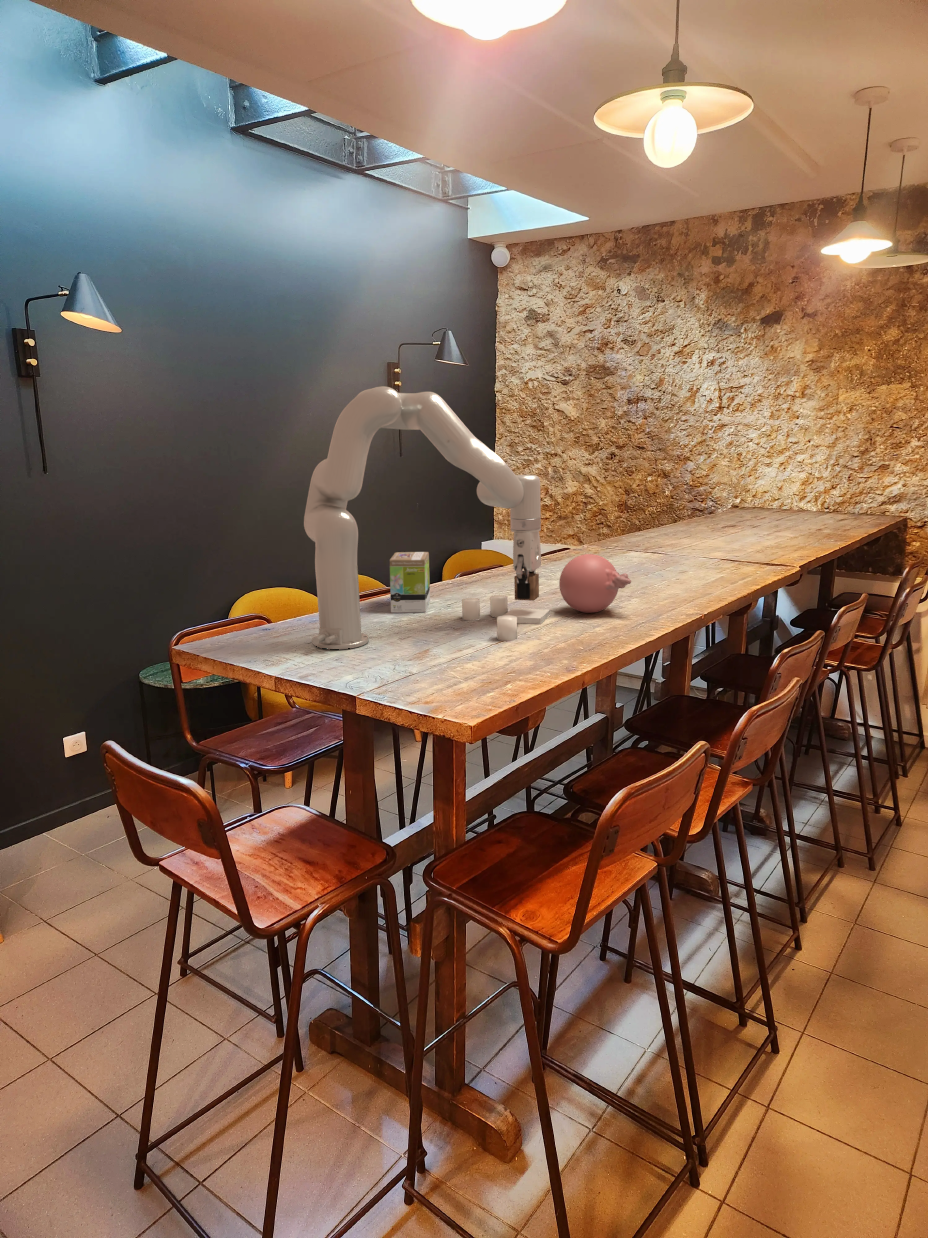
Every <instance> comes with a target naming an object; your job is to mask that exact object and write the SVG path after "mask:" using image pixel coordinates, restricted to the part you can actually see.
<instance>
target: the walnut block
mask: <svg viewBox="0 0 928 1238" xmlns="http://www.w3.org/2000/svg"><path fill="white" fill-rule="evenodd" d="M523 574H524V575H525V577H526V573H523ZM539 575H540V574H539V573H536V574H535V573H529V582H528V583H530V598H529V599H518V598H517V575H516V574H515V575H514V581H513V582H514V600H515V601H531V602H532V601H536V600H537V599H538V598H539V597H540V579H539V578H540V576H539Z"/></svg>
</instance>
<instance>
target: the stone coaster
mask: <svg viewBox="0 0 928 1238" xmlns="http://www.w3.org/2000/svg"><path fill="white" fill-rule="evenodd" d="M504 615H511V616H516V617H517V624H531V625H541V624H542V623H544V620H545V619H546V620H547V619H548V618H549V617H550V616H551V609H541V608H525V607H523V608H521V607H513V608H511V609H510V610H508V612H507V613H506V614H504ZM549 615H550V616H549ZM548 616H549V617H548ZM547 617H548V618H547ZM546 620H545V621H546Z"/></svg>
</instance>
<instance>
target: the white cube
mask: <svg viewBox="0 0 928 1238" xmlns="http://www.w3.org/2000/svg"><path fill="white" fill-rule="evenodd" d="M480 602H481V600H480V598H478V597H465V598H462V599H461V616H462V617H461V619H462V620H463V621H469V622H470V621H471V620H473V621H478V619H479V620H480V619H481V603H480Z"/></svg>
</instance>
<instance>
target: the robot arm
mask: <svg viewBox="0 0 928 1238" xmlns="http://www.w3.org/2000/svg"><path fill="white" fill-rule="evenodd" d="M380 429H392V430H393V429H394V430H405V431H406V430H407V431H411V430H412V431H414V430H416V431H419V430H420V431H421V433H422V434H424V436H425V437H426V438H427V439H428V440H429V441H430V443H432V445H433V446H434V447H435V448H436V449H437V451H438V452H439V453H440V454H441V455H442V456H443V458H445V460H447V462H449V463H450V464H451V465H453V466H455V467H456V468H459V469H460V470H463V471H465V472H467V473H468V474H470V475H471V476H473V477H474V478H475V479H476V480H477V481H479V482H478V484H477V487H476V495H477V499H479V501H480V502H481V503H483V504H484V505H487V506H489V507H495V508H501V509H502V508H503V509H509V510H510V511H509V513H510V532H512V533H513V543H512V563H513V570H514V571H515V576H516V575H517V598H518V599H529V598H530V583H528V582H529V573H535V574H537V573H536V572H537V569H539V568H540V567H541V565H542V553H541V552H542V551H541V536H540V532H541V530H542V528H541V527H542V526H541V524H542V523H541V522H542V521H541V520H542V517H541V509H542V506H541V505H542V504H541V480H540V477H539V476H538V475H536V474H515V472H514V471H513V469H511V467H509V465H508V464H507V462H505V461H504V460H503V459H502V458H501V457H500V456H499V455H498V454H496V453H495V452H494V451H493V450H492V449H490V448H489V447H488V446H487V445H486V444H485V443H483V442H482V441H481V440H480V439H478V438H477V437H476V436H475V435H474V434H473V432H471V431H470V429H469V428H468V427H467V426H466V425H465V424H464V422H463V421H462V420H461V419H460V418H459V417H458V415H457V414H456V412H454V411H453V409H452V408H451V407H450V406H449V405H448V403H447V402H446V401H445V400H444V399H443V398H442V397H441V396H440V395H439V394H438V393H436V392H433V391H420V392H416V393H415V392H414V393H413V392H412V393H408V392H398V391H397V390H395V389H394V388H392V387H389V386H376V387H373V388H368V389H365V390H362V391H360V392H359V393H358V394H357V395H356V396H355V397H354V398H353V399H351V400H350V401H349V403H347V405H346V406H345V407H344V408H343V409H342V411H341V412H340V414H339V416H338V418H337V419H336V423H335V425H334V427H333V430H332V431H333V432H332V435H331V440H330V444H329V449H328V453H327V456H326V457H327V458H324V459H323V460H322V461H320V462H319V463H318V464H317V465H316V466H315V468H314V470H313V472H312V475H311V479H310V484H309V488H308V494H307V499H306V505H305V510H304V516H303V527H304V528H303V529H304V531H305V533H306V535H307V536H308V538H309V539H310V540H311V541H312V542H313V543H315V544H314V545H315V546H314V547H315V551H314V552H315V554H314V569H315V571H314V572H315V579H316V580H315V581H316V583H315V584H316V594H317V608H318V609H317V610H318V611H317V612H318V621H319V622H318V624H319V628H318V634H317V635H313V637H311V643H312V644H313V646H314V647H316V646H317V647H316V648H318V647H320V648H319V649H322V648H328V649H327V650H330V649H339V650H349V649H348V648H350V649H355V648H359V647H362V646H365V645H366V644H368V643H369V636H368V635H367V634H366V633H362V622H361V621H362V620H361V619H362V618H361V605H360V604H361V603H360V587H359V586H360V585H359V572H358V571H359V569H358V548H359V547H358V545H359V544H358V543H359V529H358V524H357V521H356V519H355V517H354V516H353V515H352V513H350V512H349V510H347V507H348V506H347V505H348V502H349V501H351V500H354V499H355V498H357V496H358V495H359V494H360V493H361V490H362V487H363V482H364V477H365V470H366V466H367V459H368V454H369V450H370V447H371V444H372V443H371V442H372V441H373V438H374V436H375V434H376V433H377V432H378V431H379V430H380ZM523 573H526V577H525V575H524V574H523Z"/></svg>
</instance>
